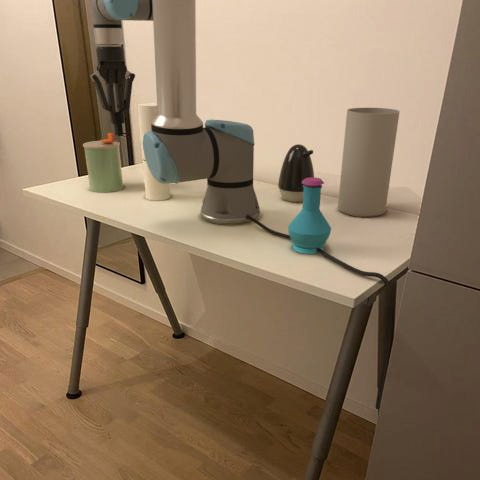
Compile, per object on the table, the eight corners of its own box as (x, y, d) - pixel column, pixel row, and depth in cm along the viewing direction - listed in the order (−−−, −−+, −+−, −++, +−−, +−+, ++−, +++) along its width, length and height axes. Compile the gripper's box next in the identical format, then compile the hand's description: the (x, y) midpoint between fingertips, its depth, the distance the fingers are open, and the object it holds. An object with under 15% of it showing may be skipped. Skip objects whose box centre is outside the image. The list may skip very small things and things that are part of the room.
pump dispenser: (296, 206, 138) (299, 149, 131) (270, 198, 145) (272, 143, 138) (321, 200, 144) (325, 144, 137) (295, 193, 151) (298, 139, 144)
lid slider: (115, 142, 150) (114, 134, 149) (104, 143, 148) (103, 135, 147) (110, 140, 153) (109, 132, 152) (100, 141, 151) (99, 133, 150)
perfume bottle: (325, 240, 115) (331, 174, 108) (332, 255, 107) (339, 184, 100) (284, 241, 115) (288, 174, 107) (289, 256, 107) (293, 185, 99)
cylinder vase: (365, 202, 143) (377, 106, 131) (395, 214, 133) (410, 112, 121) (328, 207, 138) (337, 109, 126) (356, 220, 128) (368, 114, 116)
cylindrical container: (168, 200, 144) (162, 105, 132) (143, 200, 144) (135, 105, 132) (172, 193, 150) (166, 103, 138) (148, 193, 150) (140, 102, 138)
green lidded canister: (129, 189, 155) (124, 144, 148) (95, 194, 150) (89, 147, 143) (117, 182, 163) (112, 139, 156) (84, 186, 158) (78, 142, 151)
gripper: (126, 45, 146) (134, 131, 158) (82, 46, 140) (94, 135, 151) (136, 46, 141) (144, 135, 152) (90, 46, 134) (102, 139, 146)
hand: (119, 135), depth 152 cm, fingers closed
